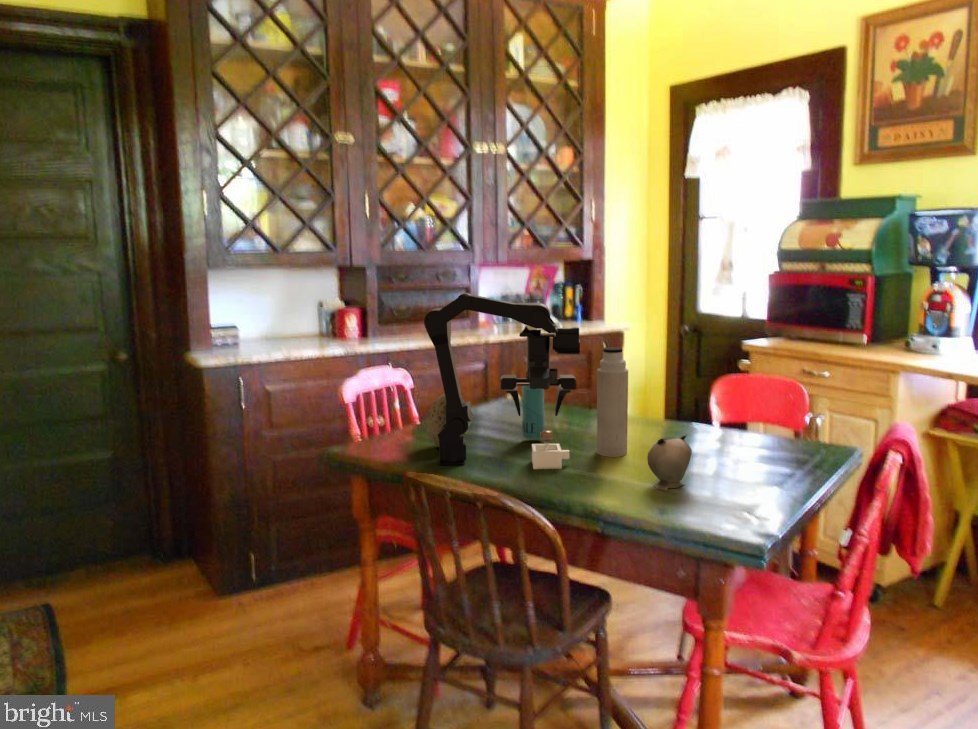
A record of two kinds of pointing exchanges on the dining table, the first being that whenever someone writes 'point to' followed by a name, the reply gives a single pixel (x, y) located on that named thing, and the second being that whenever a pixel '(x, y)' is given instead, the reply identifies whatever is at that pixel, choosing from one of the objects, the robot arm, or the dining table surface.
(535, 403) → the beverage bottle
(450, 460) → the robot arm
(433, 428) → the decorative egg
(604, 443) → the thermos bottle
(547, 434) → the brown stemmed glass
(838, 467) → the dining table surface
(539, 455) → the square box with handle
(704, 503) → the dining table surface
